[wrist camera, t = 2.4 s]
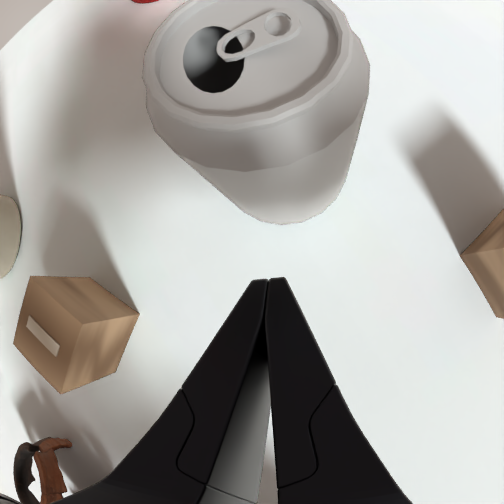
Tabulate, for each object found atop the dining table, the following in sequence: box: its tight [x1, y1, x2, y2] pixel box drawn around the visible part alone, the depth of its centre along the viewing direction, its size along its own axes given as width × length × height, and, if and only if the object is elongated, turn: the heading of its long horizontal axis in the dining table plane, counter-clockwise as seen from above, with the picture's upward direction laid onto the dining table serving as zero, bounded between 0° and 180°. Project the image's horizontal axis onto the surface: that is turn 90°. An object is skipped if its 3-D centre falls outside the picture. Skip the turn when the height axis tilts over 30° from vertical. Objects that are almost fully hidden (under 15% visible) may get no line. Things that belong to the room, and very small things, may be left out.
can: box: [143, 0, 370, 225], centre depth 13 cm, size 8×8×12 cm
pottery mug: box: [13, 437, 72, 504], centre depth 18 cm, size 12×10×8 cm
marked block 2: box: [13, 276, 140, 394], centre depth 18 cm, size 5×5×6 cm
